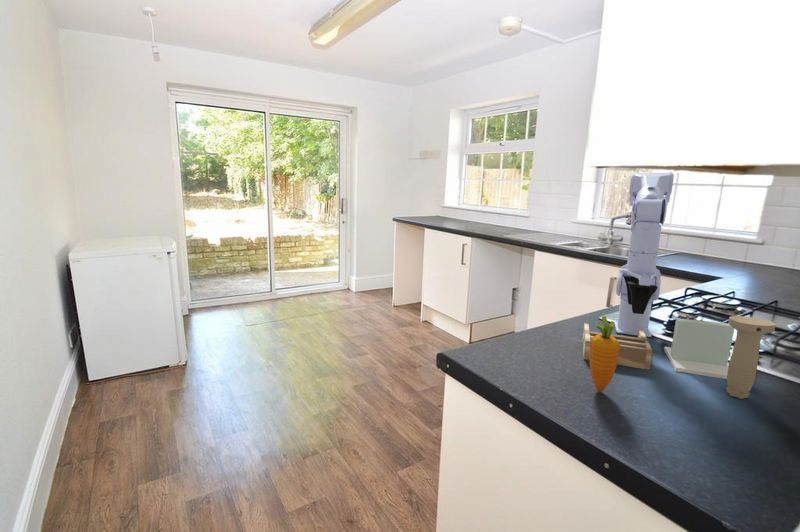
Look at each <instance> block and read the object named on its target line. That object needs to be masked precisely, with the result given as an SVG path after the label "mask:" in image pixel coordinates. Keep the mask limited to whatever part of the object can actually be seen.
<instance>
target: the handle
mask: <svg viewBox="0 0 800 532" xmlns="http://www.w3.org/2000/svg"><path fill="white" fill-rule="evenodd" d="M728 323H729V325H730V326H732V327H733V328H734V330H736V338H735V341H734V345H733V349H732V352H731V356H730V357H729V358H730V359H729V361H728V364H729V366H728V374H727V379H726V383H727V384H726V386H725V387H726V388H725V389H726V393H727V394H728V395H729V396H730V397H733V398H737V399H740V400H744V399H748V398H749V397H750V395H751V390H752V388H753V385H754V384H755V379H756V376H757V371H758V370H757V369H758V365H759V364H758V362H759V354H760V348H761V347H760V346H761V340H762V338H763V335H765V334H766V335H767V334H770V333H773V332H775V329H776V325H777V324H776V323H775V322H773V321H771V320H767V319H765V318H758V317H752V316H744V315H743V316H741V315H740V316H739V315H732V316H731V315H730V316H729V318H728Z"/></svg>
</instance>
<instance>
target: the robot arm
mask: <svg viewBox="0 0 800 532" xmlns="http://www.w3.org/2000/svg"><path fill="white" fill-rule="evenodd" d="M674 178H675V174H674V173H673V172H672V171H669V172H633V173H632V174H631V176H630V183H629V190H628V191H629V192H628V193H629V197H628V202H629V206H630V207H631V214H630V232H631V234H630V238H629V239H630V240H629V247H628V254H627V255H628V256H627V262H626V264H623V265H622V266H621V267H620V269H619V270H618V274H617V280H616V286H615V287H616V288H615V294H616V295H617V296H618V297H619V299H620V300H619V301H620V302H619V309H618V316H617V317H618V318H617V320H613V322H614V323H615V324H614V329H615V331H616V333H617V334H624V335H629V336H630V335H631V336H636V337H638V330H642V331H644V333H645V336H646V338H651V337H652V334H651V331H650V330H649V324H650V316H651V310H652V304H653V301H657V300H658V299H659V296H660V292H661V285H662V284H661V283H662V279H661V275H662V273H661V271H660V269H658V268H657V262H658V261H657V260H658V254H659V248H660V247H659V246H660V240H661V232H662V228H663V227H662V226H664V223H665V222H666V216H667V207H668V203H670V199H671V195H672V191H673V184H674Z"/></svg>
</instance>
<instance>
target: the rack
mask: <svg viewBox="0 0 800 532" xmlns="http://www.w3.org/2000/svg"><path fill="white" fill-rule="evenodd" d="M598 334H602V332H598V331H592V330H591V331H590V325H589V323H585V322H584V323H583V331H582V354H583V355H582V356H583V360H585V361H589V357H590V341H591V338H592V337H594V336H596V335H598ZM611 336H613V337H615V338H616V339H617V340H618V342H619V343H620V350H619V356H618V361H617V366H622V367H623V366H624V367H629V368H636V369H637V368H638V369H641V370H648V371H650V369H651V362H652V357H653V356H652V355H653V349H652V347H651V345H650V343H649V340H648V337H646V336H645V333H644V331H642V330H638V336H635V337H634V336H630V335H629V336H628V335H619V334H613V333H612V334H611Z"/></svg>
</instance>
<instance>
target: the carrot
mask: <svg viewBox="0 0 800 532" xmlns="http://www.w3.org/2000/svg"><path fill="white" fill-rule="evenodd" d="M601 320H602V323H603V325H600V324H598V323H597V324H595V325H594V326H595V328H597V329H598V330H599V331H600V333H602V334H598V335H596V336H594V337H592V338H591V341H590V357H589V360H588V361H589V370H590V371H589V372H590V376H591V379H592V382H593V384H594V387H595V390H596V391H597V392H598V393H601V392H604V390H605V389H606V388H607V387H608V385H609V384H610V383H611V380H612V379H613V376H614V373H616V372H615V371H616V368H617V366H618V365H617V361H618V356H619V350H620V343H619V342H618V340H617V339H616V338H615V337H613V336H611V334H613V331H614V329H615V323H614V320H611V321H610V324H609V321H608V319H607V316H606V315H602V316H601Z"/></svg>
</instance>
